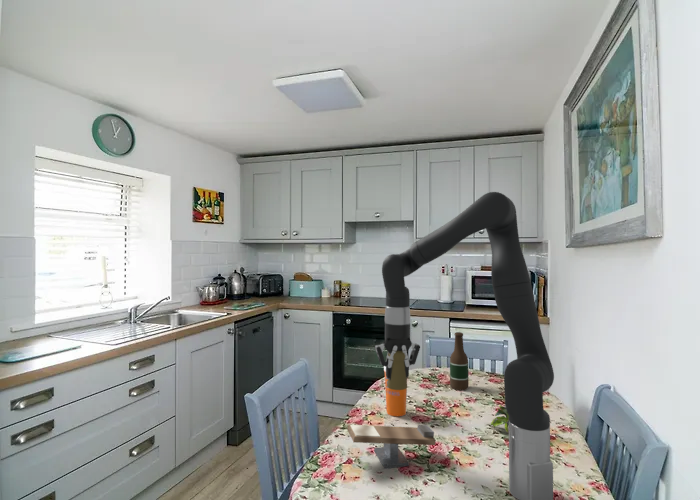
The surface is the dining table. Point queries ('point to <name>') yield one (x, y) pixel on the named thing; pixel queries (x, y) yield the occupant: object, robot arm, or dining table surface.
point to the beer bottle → (459, 365)
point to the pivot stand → (391, 456)
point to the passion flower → (501, 418)
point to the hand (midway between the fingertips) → (397, 378)
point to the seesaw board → (392, 434)
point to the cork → (398, 372)
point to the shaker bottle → (395, 400)
